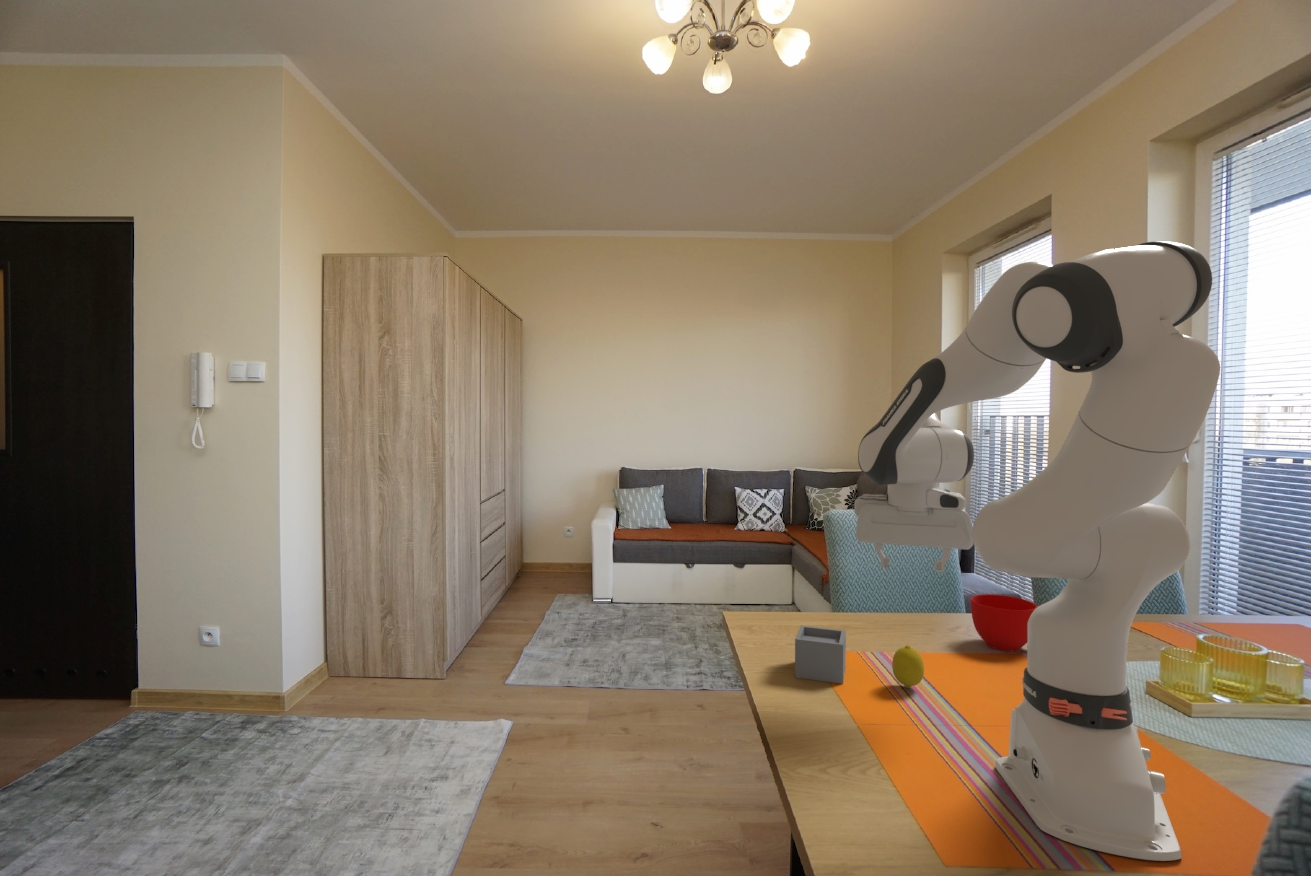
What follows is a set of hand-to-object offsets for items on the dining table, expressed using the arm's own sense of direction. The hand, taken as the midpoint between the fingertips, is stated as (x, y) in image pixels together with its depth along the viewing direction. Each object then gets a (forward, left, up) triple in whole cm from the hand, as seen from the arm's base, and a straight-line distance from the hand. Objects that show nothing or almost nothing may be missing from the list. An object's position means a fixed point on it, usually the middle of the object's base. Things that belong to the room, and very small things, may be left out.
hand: (912, 569), depth 113 cm
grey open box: (+1, +17, -22) cm, 28 cm away
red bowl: (+31, -22, -23) cm, 45 cm away
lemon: (-1, +1, -23) cm, 23 cm away
